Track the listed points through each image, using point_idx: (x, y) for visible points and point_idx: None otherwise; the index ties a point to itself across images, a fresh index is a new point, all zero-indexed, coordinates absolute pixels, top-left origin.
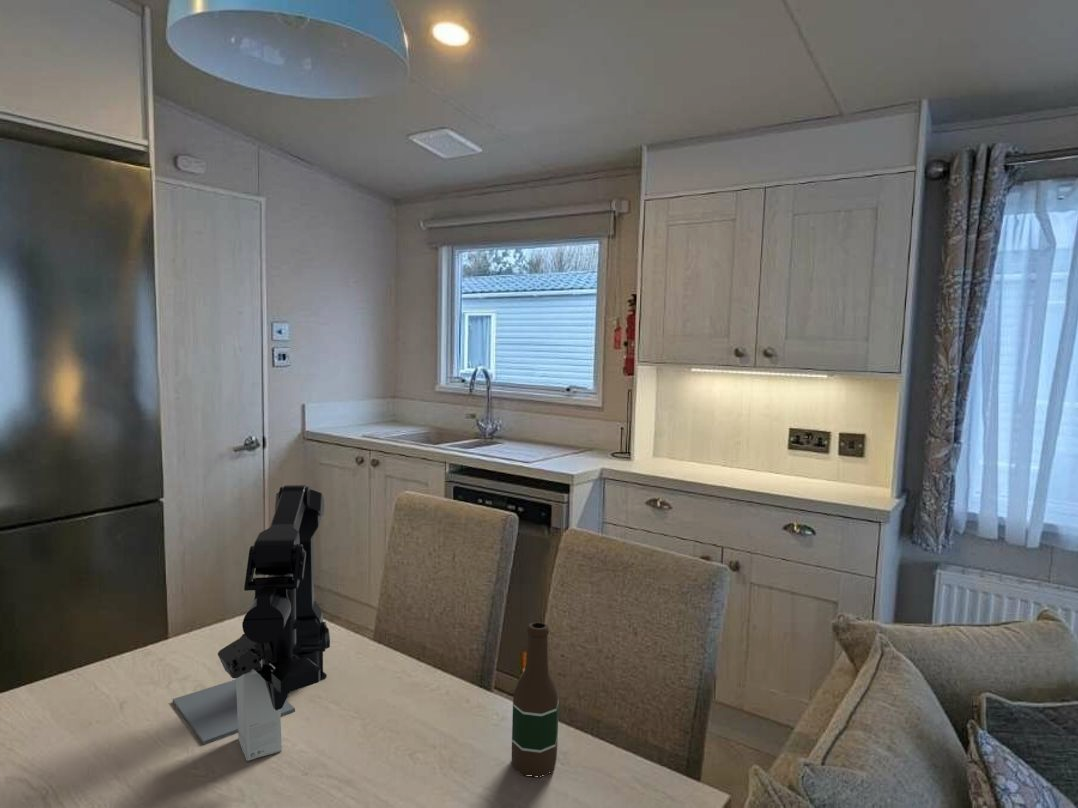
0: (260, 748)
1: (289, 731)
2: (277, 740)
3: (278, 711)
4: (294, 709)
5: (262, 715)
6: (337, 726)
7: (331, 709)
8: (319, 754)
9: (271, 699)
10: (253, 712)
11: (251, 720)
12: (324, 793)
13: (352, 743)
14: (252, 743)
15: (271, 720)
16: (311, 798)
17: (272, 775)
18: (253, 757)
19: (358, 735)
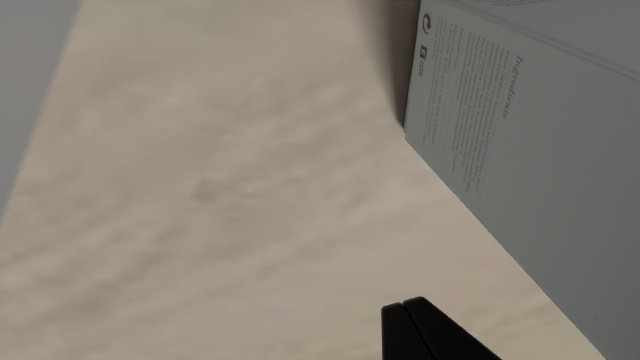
0: (430, 65)
1: None
2: (424, 144)
3: (503, 237)
4: None
5: (526, 158)
6: None
7: (528, 294)
8: (304, 244)
9: (461, 356)
10: (570, 122)
11: (537, 84)
12: (39, 236)
13: (308, 329)
14: (453, 39)
15: (487, 179)
16: (18, 193)
17: (256, 77)
18: (420, 22)
19: (341, 344)
